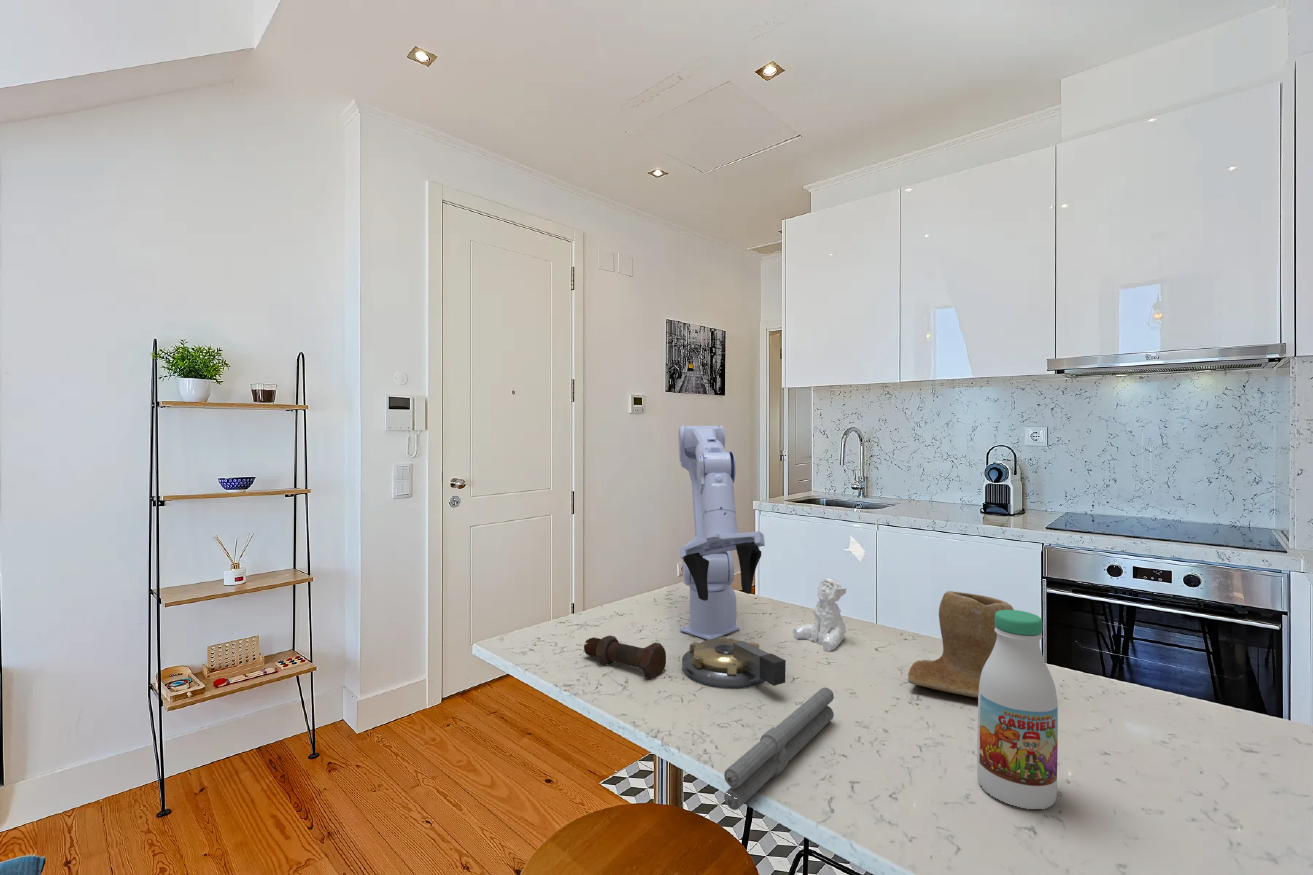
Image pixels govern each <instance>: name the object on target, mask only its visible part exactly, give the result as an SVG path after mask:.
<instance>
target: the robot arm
mask: <svg viewBox="0 0 1313 875" xmlns="http://www.w3.org/2000/svg"><path fill="white" fill-rule="evenodd" d="M725 448H726V432H725V428H724V426H722V424H719V425H684V424H681V425H680V426H679V428H678V455H679V457H678V458H679V462H680V467H681V468H683V469H685V470H687V471H688V474H689V477H690V480H691V488H692V490H691V491H692V504H693V505H692V506H693V522H694V523H693V524H694V538H692V540H690V541H689V542H687V543H686V544H685V545H684V546H683V545H682V546H680V547H679V551H680V552H679V553H680V559H682V582H683V583H684V584H685V586H688V587H689V625H686V626H683V627H681V628H680V632H682V633H686V634H688V635H691V636H695V637H698V638H701V639H704V640H706V641H707V640H712V639H718V637H725V635H729V634H731V633H734V632H736V631H738V630H740V629H741V628H740V626H739V625H737V596H736V592H735V590H734V587H732V586H731V585H732V584H733V583H734V581H735V560H734V557H733V554H732V551H736V553H737V558H738V561H739V562H738V563H739V568H740V570H739V571H740V585H741V589H742V590H741V591H742V592H743V593H745V594H747V595H749V594H750V595H751V594H752V588H753V584H754V583H753V582H754V578H755V577H754V575H755V573H756V569H757V567H758V564H759V561H760V559H761V557H762V551H761V550H760V547H765V546H766V542H765V536H764V535H765V534H764V533H762V532H761V531H760V530H758V531H751V532H739V533H738V525H737V524H738V523H737V513H736V500H735V498H736V497H735V488H734V485H735V484H734V483H735V480H736V473H737V470H736V469H737V468H736V467H737V465H736V457H735V454H734V451H732V450H729V451H728V452H727V451H726V449H725Z"/></svg>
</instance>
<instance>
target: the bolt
mask: <svg viewBox="0 0 1313 875" xmlns="http://www.w3.org/2000/svg"><path fill="white" fill-rule="evenodd" d="M583 651H584V653H585V655H587V656H589V657H593V658H596V659H597V660H598V662H599V663H600V664H602V665H605V666H609V665H612V664H614V663H617V664H620V665H626V666H629V667H633V668H637V669H639V670H641V672H642V674H643V675H644V678H646V679H650V680H653V679H657V678H658V677H659V676H661V675H662V673H663V672H664V670H665V668H666V664H667V651H666V649H665V648H664V646H663V645H662V644H661V642H652V643H651V644H649V645H647V646H645V647H639V646H634V645H630V644H626V643H625V644H624V643H621V642H619V640H618V638H617V637H616V636H614V635H606V636H603V637H602V638H598V637H590V638H588V639H586V640H585V643H584V645H583Z"/></svg>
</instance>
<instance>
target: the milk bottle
mask: <svg viewBox="0 0 1313 875" xmlns="http://www.w3.org/2000/svg"><path fill="white" fill-rule="evenodd" d="M1043 627H1044V626H1043V620H1042V618H1041V616H1038V615H1037V614H1035V613H1031V612H1028V611H1023V610H1017V609H1014V610H1000V611H997V612H996V613H995V629H994V630H995V632H996V633H997V639H996V643H995V645H994V648H993V651H992V653H991V654H990V656H989V658H988V660H987V661H986V663H985V665H984V667H983V670H982V673H981V676H980V682H979V696H978V698H977V702H978V703H977V738H976V739H977V741H976V742H977V744H976V745H977V747H976V748H977V749H976V750H977V754H976V764H977V766H976V768H977V769H976V772H977V773H976V774H977V781H978V783H979V786H980V787H981V786H982V787H981V789H983V791H984V792H985V793H987V794H988V793H989V794H990V795H989V794H988V795H989V796H991V797H992V796H993V797H992V798H994V797H995V798H996V800H997V799H999V800H1001V801H1004V802H1007V803H1009V804H1012V805H1014V806H1013V807H1015V806H1017V807H1016V808H1018V807H1021V808H1020V809H1023V808H1027V809H1026V810H1029V809H1042V810H1045V809H1044V808H1046V809H1049V808H1051V807H1052V806H1053V805H1054V804H1055V802H1056V800H1057V796H1058V795H1057V794H1058V793H1057V790H1058V751H1059V749H1058V742H1059V741H1058V740H1059V738H1058V736H1059V732H1058V731H1059V730H1058V728H1059V723H1058V720H1059V718H1058V716H1059V712H1058V711H1059V710H1058V694H1057V689H1056V688H1057V687H1056V685H1055V681H1054V679H1053V676H1052V675H1051V674H1052V673H1051V672H1050V670H1049V668H1048V666H1047V664H1046V661H1045V659H1044V656H1043V652H1042V649H1041V646H1040V645H1041V643H1040V642H1041V641H1040V640H1041V639H1043V635H1042V633H1043ZM995 798H994V799H995ZM999 800H998V801H999ZM1001 801H1000V802H1001ZM1051 805H1052V806H1051ZM1050 806H1051V807H1050ZM1048 807H1049V808H1048Z"/></svg>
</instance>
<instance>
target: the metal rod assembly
mask: <svg viewBox="0 0 1313 875" xmlns="http://www.w3.org/2000/svg"><path fill="white" fill-rule="evenodd" d="M834 696H835V695H834V692H833V690H831V689H830V688H829V687H822V688H821V689H819V690H818V691H817V692H816V693H815V694H813V695H812V696H811V697H810V698H808V700H807V699H806V701H805V702H804V703H802V704H801V705H800V706H799V707H797V709H796V710H794V711H793V712H792V713H790V714H789V715H788V716H787V717H786V718H784V719H783V720H782V721H781V722H780V723H779V724H777V725H776V726H775V727H774V726H773V727H771V728H770V729H768V730H767V731H766V732H765V733H763V735H761V736H760V739H759V742H757V743H756V744H755V745H753V746H752V747H751V748H750V749H749V750H747V752H746V753H744V754H743V755H741V756H740V757H739V758H738V759H736V761H734V762H733V763H732V764H731V765H730V766H729V767H728V768H726V770H725V771H724V775H723V776H724V780H725V782H726V784H727V785H728V786H729V787H730V788H729V789H728V790H727V791H725V792H726V793H728V794H730V795H731V796H729V795H728V794H726V793H724V796H723V797H724V802H725V803H726V805H727V807H728V809H729V808H730V809H731V810H733V811H737V810H739V809H740V808H741V807H742V806H743V805H744V804H745V803H746V802H747V801H749V799H750V798H751V797H752V796H753V795H754V794H756V793H757V791H759V790H760V789H761V787H763V786H764V785H765V784H766V783H767V782H768V781H769V780H770V779H771V778H776V777H777V776H778V775H779V774H780V773H781V772H783V771H784V770H785V769H786V767H787V764H788V763H789V761H791V760H792V759H793V758H794V757H795V756H796V755H798V753H799V752H800V751H801V750H802V749H803V748H804V747H805V746H806V745H807V744H809V742H810V741H811V740H812V739H814V737H816V735H817V734H818V733H819V732H821V730H823V728H824V727H826V726H827V724H829V723H830V722H831V721H832V720H833V719H834V717H835V715H834V713H835V712H834V711H833V709H832V708H831V706H829V704H831V703H832V702H833V701H834V698H835V697H834ZM734 797H735V798H737V799H734Z"/></svg>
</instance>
